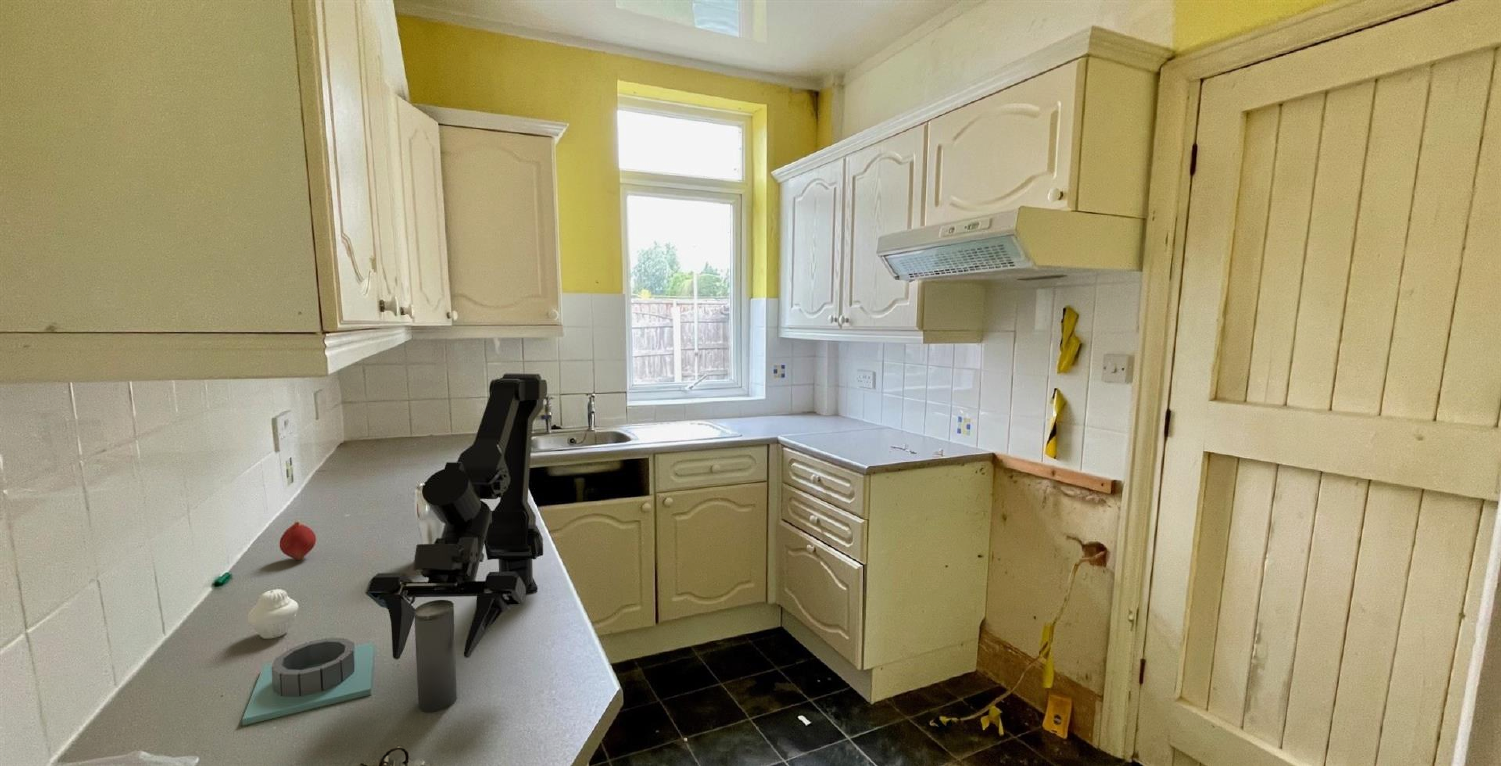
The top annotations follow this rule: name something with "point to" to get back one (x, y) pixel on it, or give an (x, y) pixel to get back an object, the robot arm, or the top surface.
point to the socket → (311, 678)
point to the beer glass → (426, 519)
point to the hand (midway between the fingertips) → (431, 657)
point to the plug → (435, 655)
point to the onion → (297, 541)
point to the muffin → (273, 614)
